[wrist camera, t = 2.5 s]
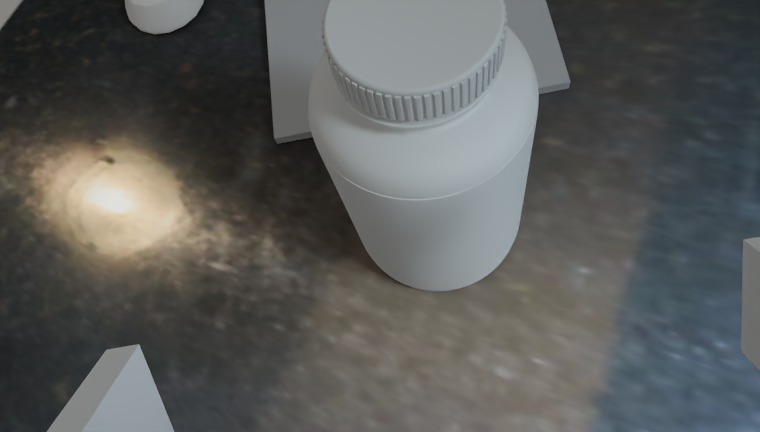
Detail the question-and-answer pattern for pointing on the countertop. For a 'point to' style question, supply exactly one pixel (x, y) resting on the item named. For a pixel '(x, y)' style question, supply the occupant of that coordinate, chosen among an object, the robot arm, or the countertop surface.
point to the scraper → (305, 47)
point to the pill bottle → (426, 132)
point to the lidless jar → (161, 14)
